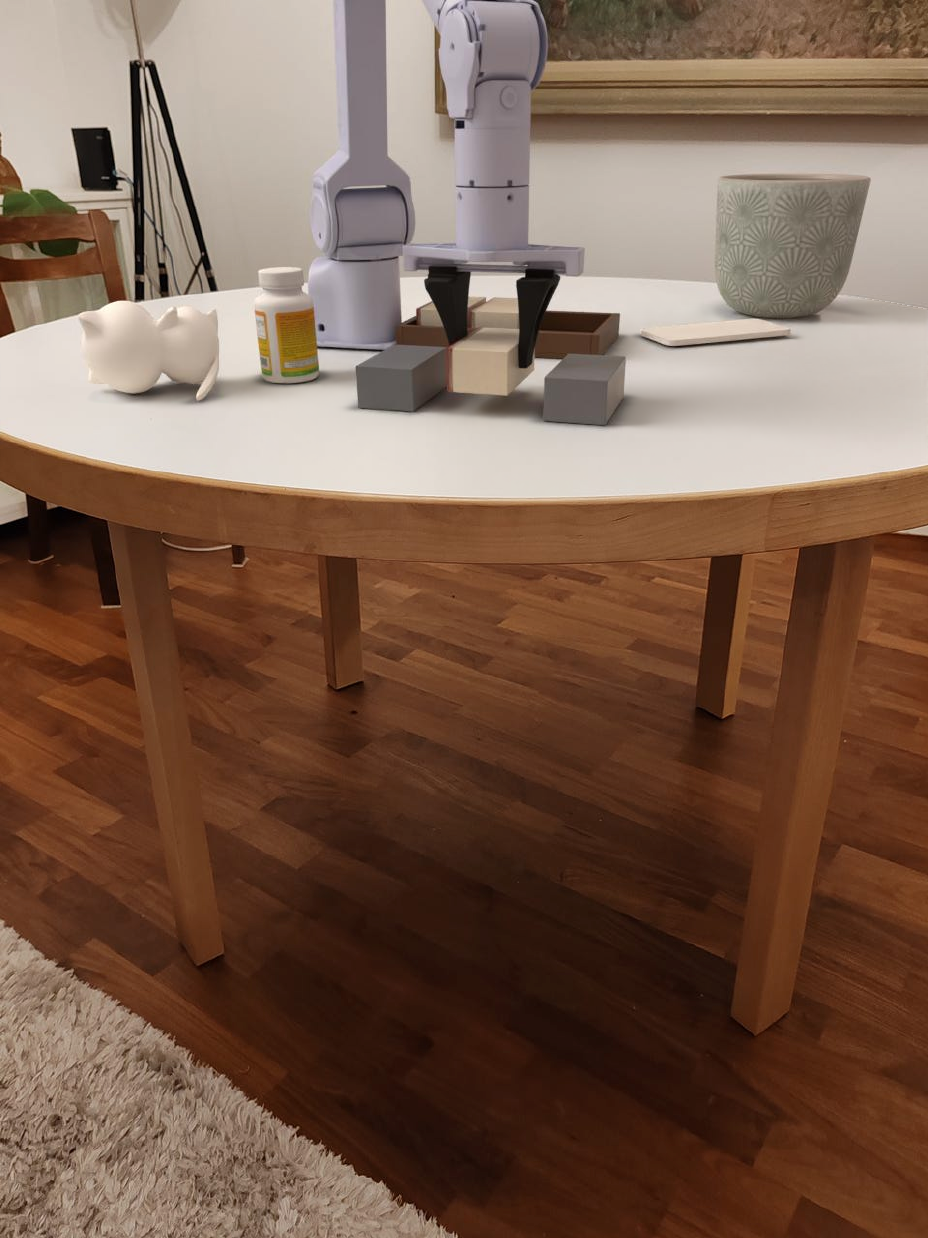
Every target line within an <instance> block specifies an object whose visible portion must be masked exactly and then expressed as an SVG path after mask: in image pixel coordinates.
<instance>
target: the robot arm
mask: <svg viewBox="0 0 928 1238" xmlns="http://www.w3.org/2000/svg"><path fill="white" fill-rule="evenodd" d="M421 1H422V4H423V5H424V8H425V10H427V13H428V15H429V17H430V19H431V20H432V22H433V25H434V27H435V29H436V30H437V32H438V34H439V36H440V39H439V40H440V42H439V48H438V61H439V68H440V73H441V77H442V80H443V83H444V87H445V90H446V91H445V92H446V110H447V112H448V117H449V119H453V120H454V121H453V123H454V125H453V126H454V185H455V188H454V190H455V191H454V193H455V194H454V195H455V242H446V243H445V242H442V243H439V242H438V243H414V242H413V243H411V242H412V241H413V239H414V236H415V231H416V211H415V206H414V202H413V197H412V187H411V185H412V184H411V178H410V176H409V174H408V173H407V171H405V169H404V168H403V167H401V166H400V165H399V164H398V163H397V162H396V161H395V160H393V158H391V157H390V156H389V155H388V152H389V151H388V85H387V84H388V82H387V81H388V80H387V79H388V78H387V74H388V73H387V72H388V71H387V9H386V7H387V5H386V4H387V3H386V2H387V1H386V0H332V11H333V37H334V38H333V39H334V40H333V42H334V65H335V90H336V91H335V93H336V117H337V144H338V150H337V151H336V153H334V154H333V155H332V156H331V157H330V158H328V160H327V161H325V163H323V164H322V165H321V166H320V167H319V168H318V169H317V170H316V171H315V172H314V173H313V175H312V180H311V185H312V186H311V200H310V205H309V222H310V230H311V235H312V238H313V242H314V244H315V246H316V247H317V248H318V249H319V251H321V253H322V254H323V255H324V256H318V257H316V258H315V259H313V261H312V262H311V264H310V266H309V270H308V275H307V294H308V295H310V296H311V298H312V300H313V305H314V316H315V328H316V339H317V347H323V348H324V347H325V348H339V349H341V348H342V349H358V350H359V349H360V350H363V349H364V350H378V351H380V350H381V351H384V350H386V349H388V348H390V347H391V346H393V345H396V325H398V324H400V323H402V322H403V320H402V319H403V318H402V317H403V315H402V296H401V272H400V257H402V269H403V271H404V272H418V271H428V273H427V277H426V278H424V279H423V283H424V288H425V291H426V293H427V295H428V296H429V297H430V300H431V301H433V303H434V305H435V307H436V309H437V312H438V314H439V316H440V319H441V321H442V324H443V326H444V329H445V332H446V336H447V339H448V343H449V346H451V345H452V344H454V343H455V342H457V341H458V340H460V339H462V338H463V337H465V336H466V335H468V328H467V309H468V296H469V295H470V284H471V275H472V273H497V274H498V273H499V274H500V273H501V274H524V276H521V277H519V278H518V279H516V281H515V288H516V298H518V309H519V343H518V362H519V368H528V367H529V366H530V365H531V364H532V360H533V354H534V348H535V344H536V340H537V336H538V333H539V329H540V326H541V323H542V320H543V318H544V315H545V312H546V311H548V308H549V305H550V302H551V300H552V299H553V296H554V294H555V292H556V289H557V288H558V286H559V283H560V281H561V276H560V275H563V276H564V275H565V276H566V277H580V276H582V275H583V274H584V272H585V270H584V269H585V247H583V246H582V247H581V246H561V245H560V246H559V245H548V244H545V245H544V244H534V243H533V244H531V243H529V225H530V223H529V222H530V221H529V220H530V219H529V217H530V216H529V215H530V166H531V165H530V163H531V162H530V160H531V118H532V117H531V116H532V115H531V111H532V110H531V107H532V91H534V90H535V89H536V88H537V87H538V85H539V84H540V82H541V80H542V78H543V76H544V73H545V71H546V66H547V60H548V54H549V53H548V51H549V38H548V37H549V36H548V29H547V24H546V20H545V18H544V15H543V13H542V10H541V7H540V4H539V3H538V2H536V1H535V0H421ZM375 186H376V187H375ZM381 186H382V187H381ZM350 187H351V188H350ZM353 187H354V188H353ZM355 187H356V188H355ZM469 262H472V263H469ZM473 263H474V264H473ZM475 263H512V264H511V265H509V264H508V265H507V264H475Z"/></svg>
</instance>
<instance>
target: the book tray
mask: <svg viewBox="0 0 928 1238" xmlns="http://www.w3.org/2000/svg"><path fill="white" fill-rule="evenodd" d="M620 323H621V313H620V312H613V313H612V312H598V311H597V312H593V311H569V310H546V312H545V315H544V318H543V320H542V323H541V326H540V329H539V333H538V336H537V340H536V344H535V356H534V358H540V359H541V358H542V359H543V358H544V359H561V360H563V359H564V358H565V357H566V356H567V355H568V354H587V355H604V354H605V353H606V352H607V351H608V349H609V348H610V347H611V346H612V345H613V344H614V342H616V340H617V339H618V338H619V337H620ZM475 329H477V328H468V334H469V333H471V332H472V331H474V330H475ZM396 345H413V346H433V347H447V348H448V347H449V343H448V339H447V336H446V332H445V329H444V327H442V326H420V325H417V321H416V315H414V316H412V317H410V318H408V319H406V320H405V321H402V323H400V324H398V325H396Z"/></svg>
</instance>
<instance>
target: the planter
mask: <svg viewBox="0 0 928 1238" xmlns="http://www.w3.org/2000/svg"><path fill="white" fill-rule="evenodd" d="M871 181H872V179H871V177H870V176H867V175H859V174H841V173H840V174H839V173H748V174H729V175H722V176H719V177H718V178H717V187H716V188H717V191H716V215H715V217H716V218H715V220H716V221H715V250H714V275H715V281H716V286H717V289H718V292H719V295H720V296H721V297H722V299H723V301H724V302H725V303H726V305H727V306H729V307H730V308H731V309H733V310H734V311H736V312H738V313H741V314H743V315H747V316H753V317H757V318H758V317H759V318H768V319H770V318H772V319H794V318H802V317H809V316H812V315H815V314H817V313H819V312H821V311H822V310H825V309H826V308H827V307H828V306H829V305H831V303H833V302H834V301H835V300H836V298H837V297H838V296H839V294H840V293H841V290H842V289H843V287H844V285H845V283H846V281H847V278H848V276H849V273H850V269H851V265H852V261H853V257H854V253H855V249H856V244H857V240H858V237H859V236H858V235H859V231H860V227H861V224H862V223H861V222H862V218H863V215H864V210H865V207H866V202H867V198H868V193H869V189H870V185H871Z"/></svg>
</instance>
